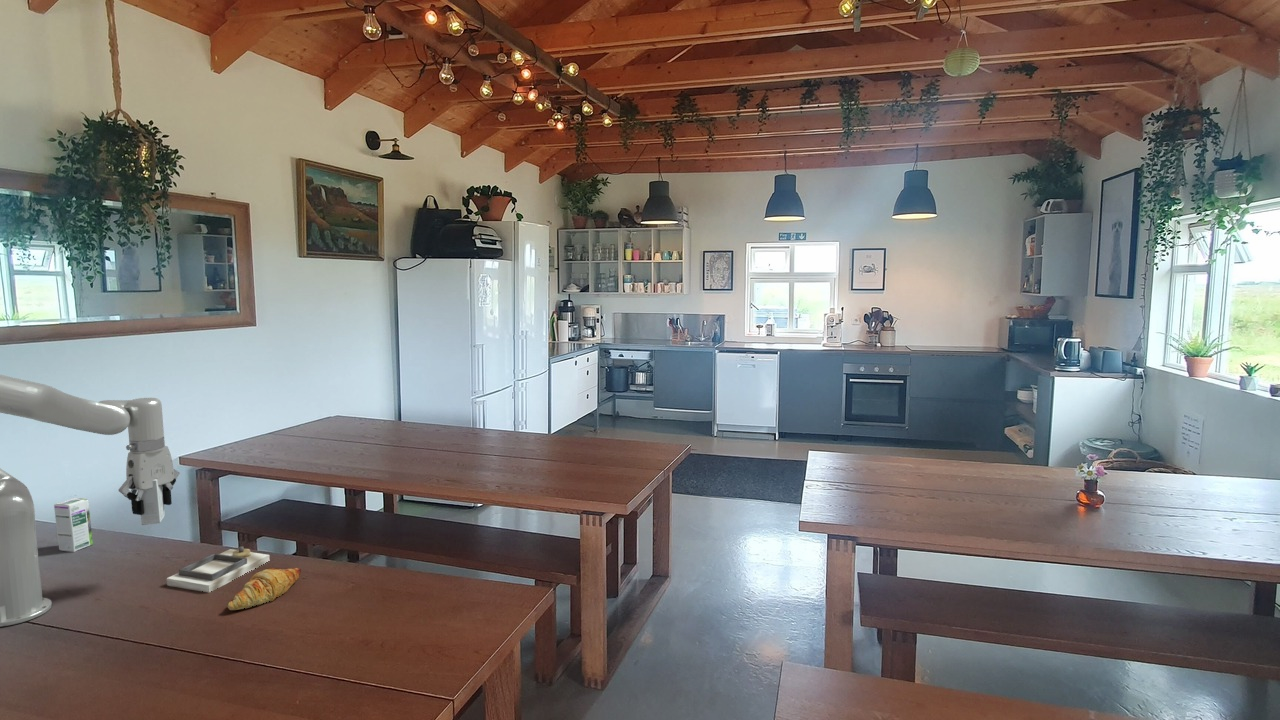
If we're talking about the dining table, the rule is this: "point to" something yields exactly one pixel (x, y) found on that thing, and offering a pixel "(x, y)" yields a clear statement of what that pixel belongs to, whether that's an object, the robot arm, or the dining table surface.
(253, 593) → the croissant
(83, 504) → the syrup box
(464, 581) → the dining table surface
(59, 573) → the dining table surface
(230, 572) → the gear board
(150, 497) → the skincare box
